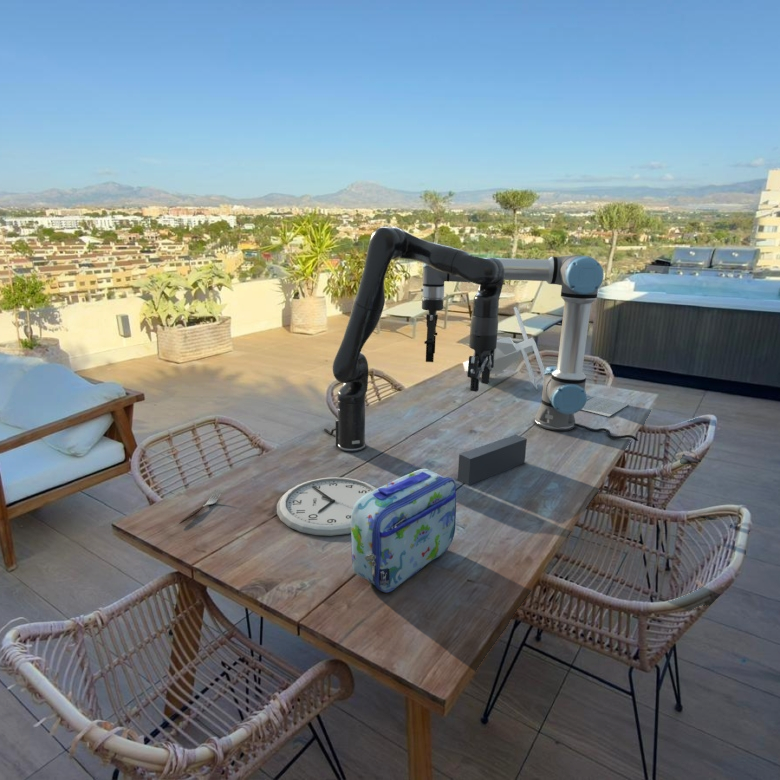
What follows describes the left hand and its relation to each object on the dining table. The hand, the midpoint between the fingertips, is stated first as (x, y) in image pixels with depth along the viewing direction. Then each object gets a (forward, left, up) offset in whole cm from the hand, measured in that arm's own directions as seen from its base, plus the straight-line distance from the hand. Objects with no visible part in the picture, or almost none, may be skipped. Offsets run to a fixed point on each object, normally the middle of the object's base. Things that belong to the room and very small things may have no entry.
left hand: (479, 387), depth 151 cm
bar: (+3, +8, -29) cm, 31 cm away
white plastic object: (-27, +104, -29) cm, 111 cm away
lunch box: (+3, -49, -29) cm, 57 cm away
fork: (-54, -57, -29) cm, 84 cm away
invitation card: (+21, +94, -29) cm, 100 cm away
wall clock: (-27, -36, -29) cm, 53 cm away
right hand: (-30, +29, -1) cm, 42 cm away
